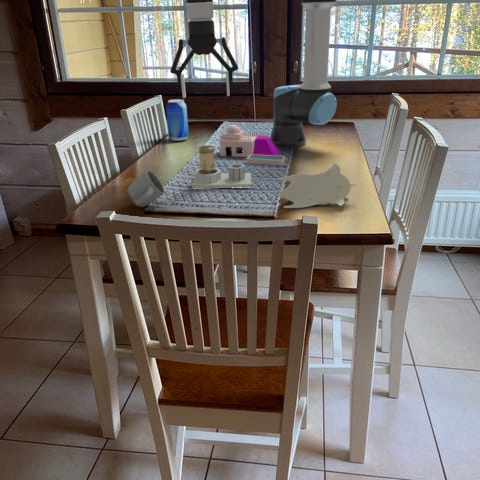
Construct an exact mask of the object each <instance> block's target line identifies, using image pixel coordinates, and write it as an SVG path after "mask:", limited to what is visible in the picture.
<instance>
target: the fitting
mask: <svg viewBox="0 0 480 480" xmlns="http://www.w3.org/2000/svg"><path fill="white" fill-rule="evenodd" d="M214 151H215V150H214V146H213V145H202V146H199V147H198V153H199V154H198V155H199V166H200V168H199V169H200V170H201V174H213V173H215V168H216V167H215V152H214Z"/></svg>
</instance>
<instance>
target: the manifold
mask: <svg viewBox="0 0 480 480" xmlns="http://www.w3.org/2000/svg"><path fill="white" fill-rule="evenodd" d="M245 169H246V168H245V164H243V163H242V164H241V163H231V164H229V165H228V167H227V170H228V172H226V173H225V172H221V171H222V170H221V169H220V168H218V167H215V173H213V174H201V170H200V168H198V169H197V168H196V170H195V171H194V178H193V181H192V184H191V189H192V188H232V187H251V188H252V172H245Z"/></svg>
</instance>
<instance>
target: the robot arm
mask: <svg viewBox="0 0 480 480" xmlns="http://www.w3.org/2000/svg"><path fill="white" fill-rule="evenodd" d="M185 1H186V2H185V4H186V5H185V6H186V16H187V17H186V18H187V20H189V21H188V22H187V29H188V39H183V38H180V39H178V47H177V51H176V54H175V57H174V60H173V63H172V65H171V67H170V73H171V74H172V75H173V74H174V75H176V79H177V80H176V81H177V85H178V87H181V94H182V99H185V98H186V97H187V94H186V83H185V82H186V81H185V74H184V73H183V71H184V69H186V67H187V66H188V64H189V63H190V61H191V60H192V58H193V57H194V55H197V56H201V55H202V56H203V55H205V56H206V55H207V56H208V55H210V54H211V55H212V56H214V58H215V59H216V60H217V61H218V62H219V64H220V65H222V67H223V68H224V69H225V70H226V72H225V77H226V78H225V80H226V97H229V96H230V93H231V92H230V85H233V83H234V79H233V78H234V77H233V73H234V72H235V71H237V70H239V66H238V64H237V62H236V60H235V58H234V56H233V55H232V53H231V51H230V49H229V47H228V45H227V40H226V37H225V36H222V37H219V38H217V37H216V33H215V21H214V20H213V19H214V17H215V16H214V3H213V1H214V0H185ZM336 3H337V0H301V5H302V6H303V7H304V9H305V25H304V26H305V27H304V28H305V29H304V51H303V53H304V54H303V55H304V58H303V59H304V60H303V82H302V83H301V84H294V85H293V84H292V85H291V84H290V85H282V86H277V87H276V88H274V91H273V97H272V98H273V103H272V104H273V111H272V112H273V126H272V130H271V132H270V135H269V137H270V139H271V141H272V143H273V144H274V145H275V146H276V148H278V147H280V148H279V149H296V148H300V147H304V146H306V145H307V137H306V134H305V130H304V127H303V123H307V124H311V125H313V126H314V125H319V126H320V125H321V126H322V125H326V124H327V123H329V122H330V121H331V120H332V118H333V117H334V115H335V113H336V111H337V106H338V103H337V102H338V101H337V98H336V95H334V94H333V93H332V85H330V83H329V82H328V75H329V72H328V71H329V54H330V52H329V51H330V38H331V37H330V34H331V18H332V17H331V16H332V13H331V12H332V8H333V7H334V6H335V4H336ZM216 44H219V46H220V47H222V49H223V51H224V52H225V54H226V56H227V58H228V60H229V62H230V64H231V65H232V66H230V65H229V64H228V62H227V61H226V60H225V59H224V58H223V57H222V56H221V54H220V53H219V52H218V51H217V50H216V49H215V47H216ZM187 45H188V46H189V48H190V49H191V50H190V51H189V52H188V53H189V54H188V55H187V57H186V58H185V59H184V61H183V62H182V64H181V65H180V67H179V68H178V69H177V67H178V65H179V62H180V59H181V56H182V53H183V50H184V48H186V47H187ZM182 73H183V74H182Z"/></svg>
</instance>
